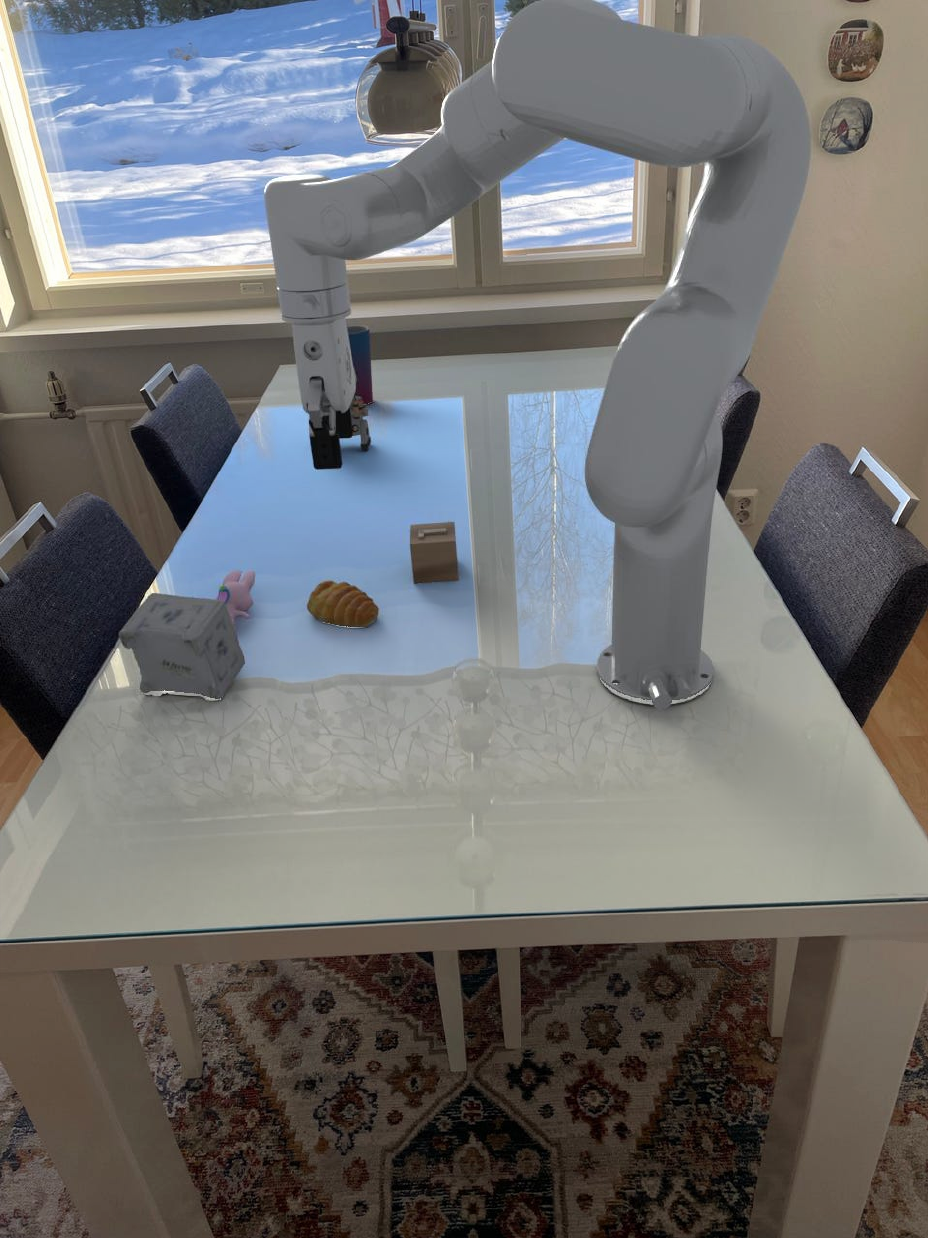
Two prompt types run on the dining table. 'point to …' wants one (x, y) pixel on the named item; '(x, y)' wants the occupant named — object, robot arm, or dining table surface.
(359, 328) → the cup
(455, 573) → the lettered block
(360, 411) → the figurine
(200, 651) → the incense holder
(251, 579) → the rabbit figure
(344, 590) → the pastry
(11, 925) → the dining table surface
